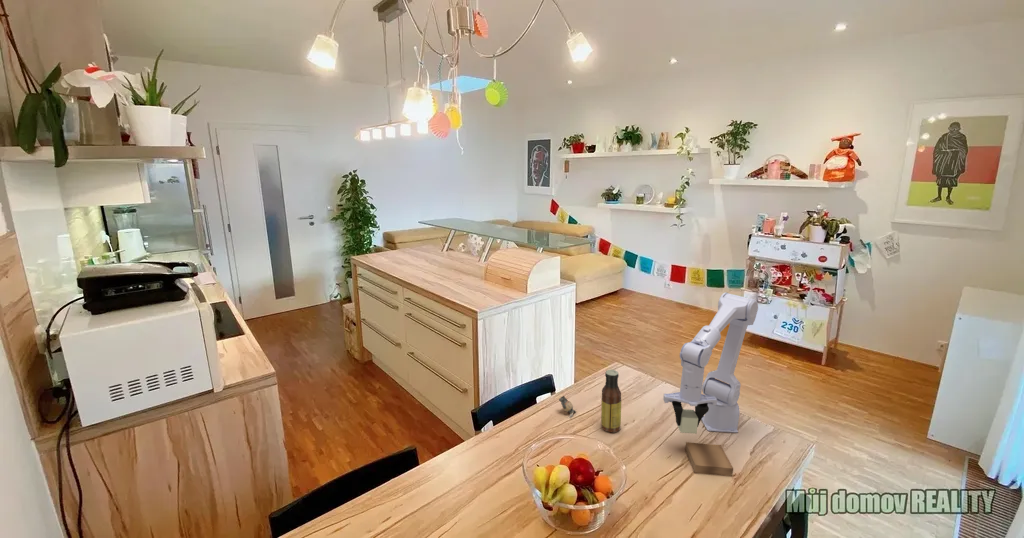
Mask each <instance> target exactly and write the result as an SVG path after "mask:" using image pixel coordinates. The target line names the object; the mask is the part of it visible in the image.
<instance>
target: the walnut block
mask: <svg viewBox="0 0 1024 538" xmlns="http://www.w3.org/2000/svg"><path fill="white" fill-rule="evenodd" d="M684 447H685V448H684V450H685V451H684V452H685V453H686V456H687V458H688V461H689V462H690V466H691V468H692V471H693V473H694V474H698V475H699V474H701V475H711V476H712V475H713V476H726V477H733V473H734V467H733V465H732V463H731V462H730V460H729V458H728V456H727V454H726V452H725V450H724V448H723V447H722V445H721V444H712V443H700V442H698V443H697V442H687V441H686V442H685V446H684Z"/></svg>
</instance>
